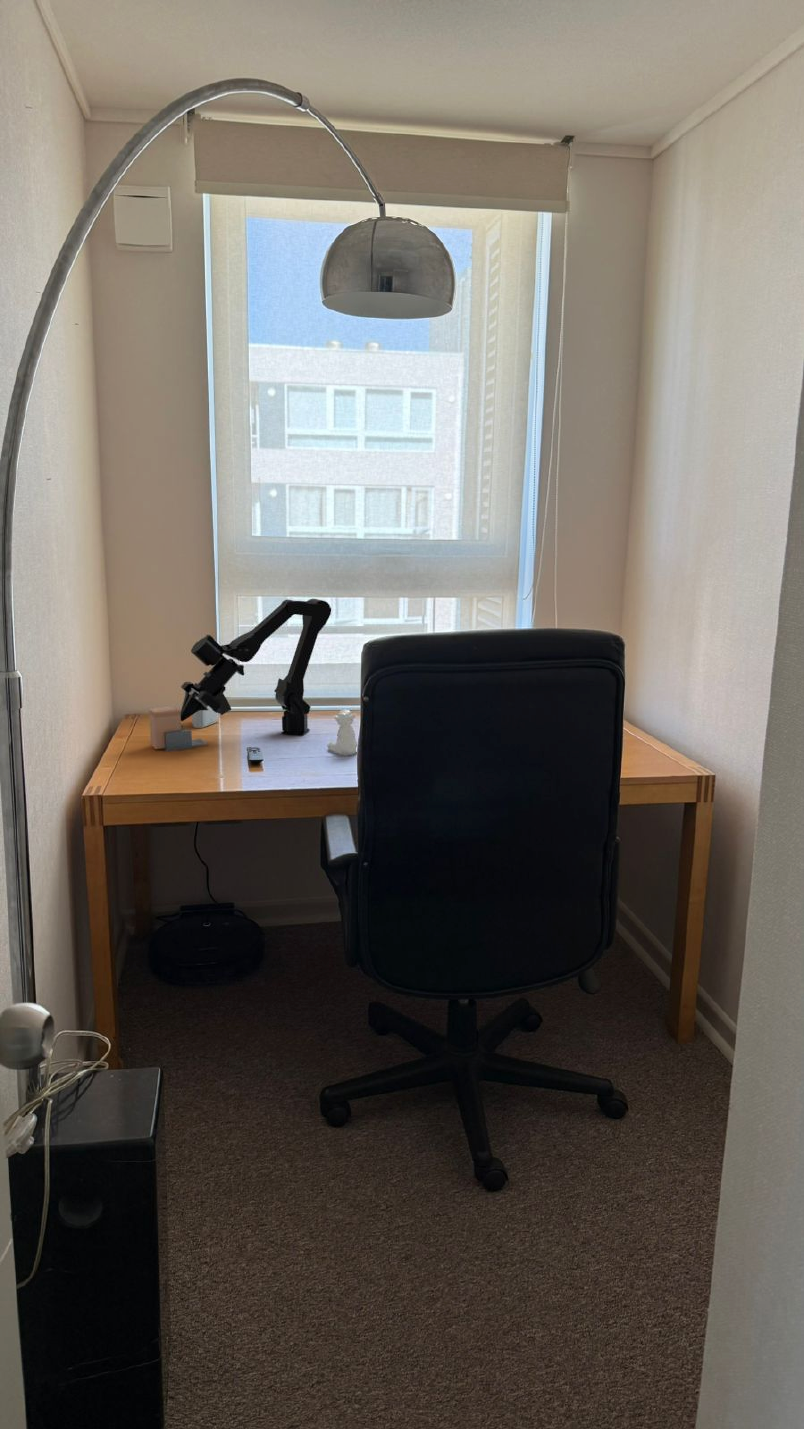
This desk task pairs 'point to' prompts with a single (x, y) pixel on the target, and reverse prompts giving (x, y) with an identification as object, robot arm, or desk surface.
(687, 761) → the desk surface
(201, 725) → the photo printer
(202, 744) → the chute
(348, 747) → the white creature statuette
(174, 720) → the block
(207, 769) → the desk surface
